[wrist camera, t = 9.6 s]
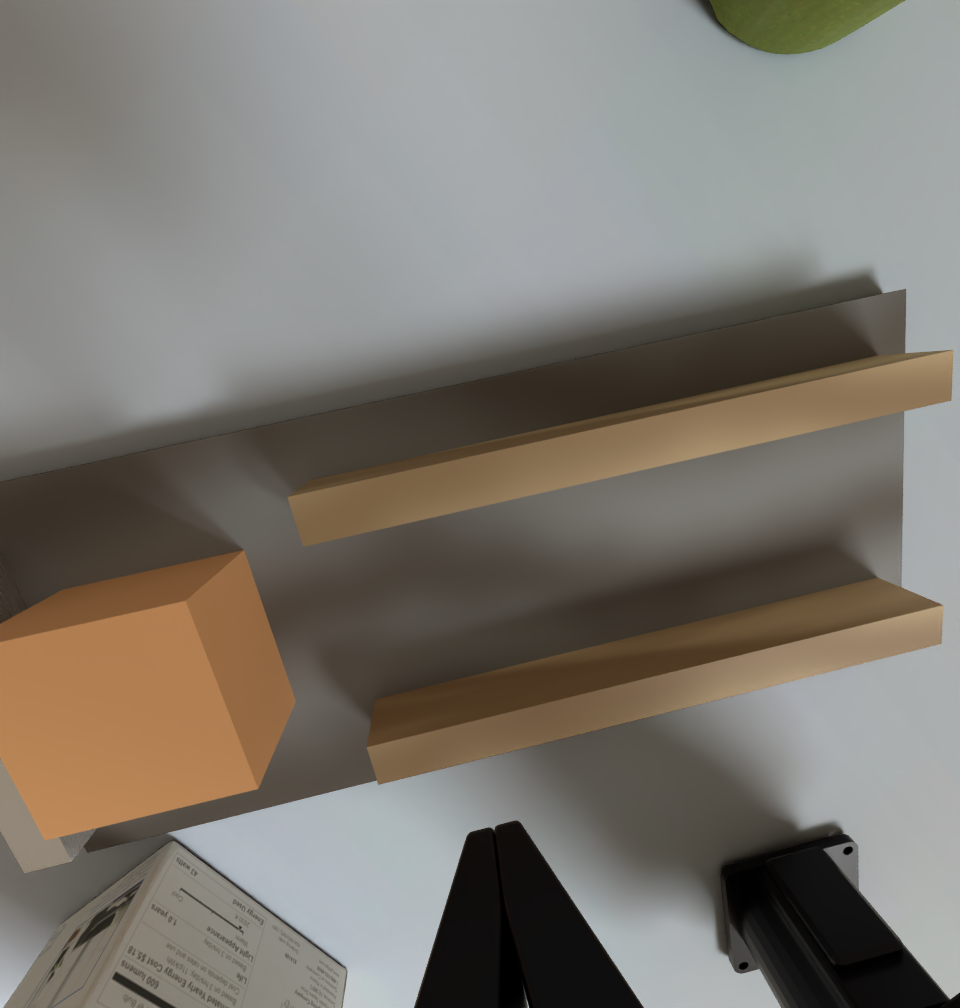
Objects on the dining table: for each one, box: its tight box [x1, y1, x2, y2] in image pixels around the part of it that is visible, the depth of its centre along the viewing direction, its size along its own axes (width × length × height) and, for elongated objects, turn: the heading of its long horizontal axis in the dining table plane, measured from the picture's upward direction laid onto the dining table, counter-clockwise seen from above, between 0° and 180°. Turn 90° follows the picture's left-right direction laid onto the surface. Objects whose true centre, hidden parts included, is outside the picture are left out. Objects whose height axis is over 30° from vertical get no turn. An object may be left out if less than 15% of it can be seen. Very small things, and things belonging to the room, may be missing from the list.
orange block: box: [0, 550, 296, 841], centre depth 15 cm, size 6×6×4 cm
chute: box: [0, 289, 953, 853], centre depth 17 cm, size 14×33×3 cm, turn 101°
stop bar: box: [0, 551, 97, 873], centre depth 15 cm, size 10×2×2 cm, turn 11°
